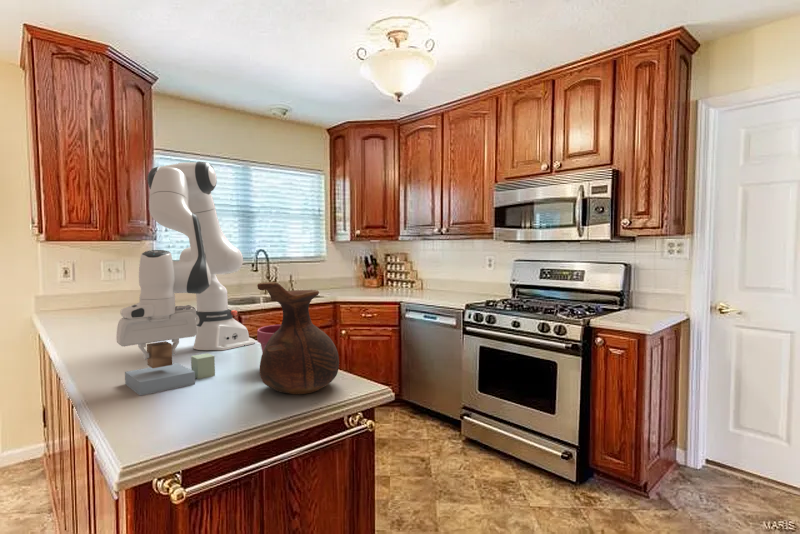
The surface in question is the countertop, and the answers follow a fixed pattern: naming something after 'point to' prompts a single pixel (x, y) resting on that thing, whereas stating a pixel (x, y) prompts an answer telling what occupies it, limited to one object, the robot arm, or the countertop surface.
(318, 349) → the jug
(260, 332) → the plant pot
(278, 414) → the countertop surface
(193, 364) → the sage block
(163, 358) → the walnut block
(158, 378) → the slate base block
